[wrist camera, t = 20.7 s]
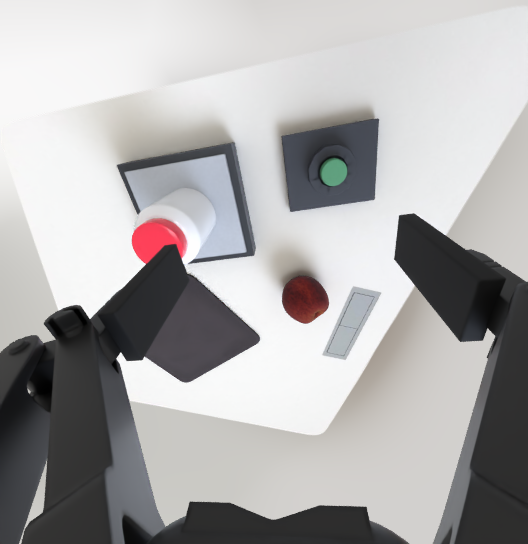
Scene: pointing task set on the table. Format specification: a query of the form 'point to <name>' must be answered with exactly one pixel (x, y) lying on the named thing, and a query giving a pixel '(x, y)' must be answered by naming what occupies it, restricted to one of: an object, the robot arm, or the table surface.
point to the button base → (322, 146)
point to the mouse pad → (199, 335)
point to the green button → (333, 171)
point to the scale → (207, 180)
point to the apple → (304, 299)
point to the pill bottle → (174, 225)
